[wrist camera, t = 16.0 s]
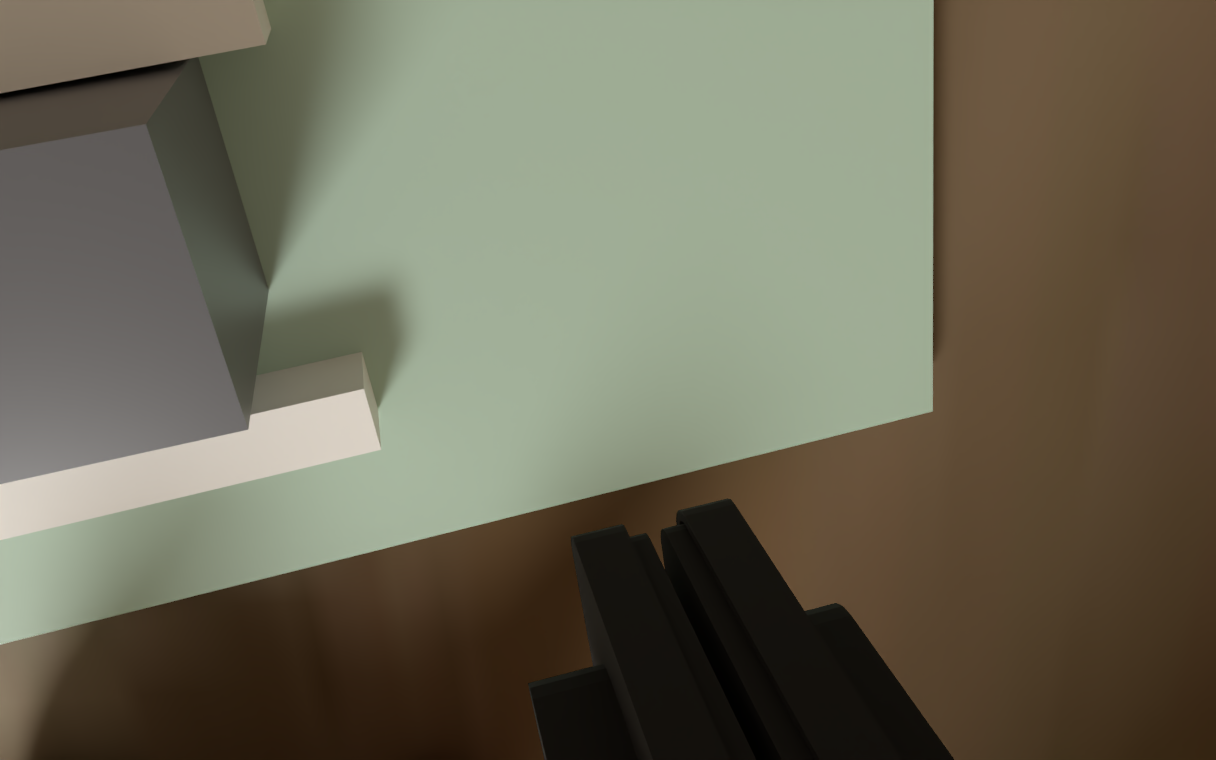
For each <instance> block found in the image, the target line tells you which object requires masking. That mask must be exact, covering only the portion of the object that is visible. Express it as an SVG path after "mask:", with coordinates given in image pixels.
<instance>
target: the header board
mask: <svg viewBox="0 0 1216 760" xmlns="http://www.w3.org/2000/svg"><path fill="white" fill-rule="evenodd" d="M933 12H934V0H0V93H5V92H10V91H16V90H21V89H27V88H32V87H38V86H43V85H48V84H54V83H59V82H65V81H70V80H76V79H81V78H86V77H92V76H97V75H103V74H108V73H114V72H119V71H125V70H130V69H135V68H141V67H146V66H152V65H157V64H163V63H168V62H173V61H179V60H184V59H190V58H195V57H198V58H199V61H200V64H201V68H202V71H203V74H204V78H205V81H206V84H207V88H208V91H209V94H210V97H211V101H212V104H213V107H214V111H215V114H216V117H217V121H218V124H219V127H220V130H221V134H222V137H223V140H224V144H225V147H226V150H227V154H228V157H229V160H230V163H231V167H232V170H233V173H234V177H235V180H236V183H237V187H238V190H239V193H240V196H241V200H242V203H243V206H244V210H245V213H246V216H247V220H248V223H249V226H250V229H251V233H252V236H253V239H254V243H255V246H256V249H257V253H258V256H259V259H260V262H261V266H262V269H263V272H264V276H265V279H266V282H267V286H268V289H269V293H268V300H267V306H266V313H265V320H264V327H263V333H262V340H261V347H260V354H259V360H258V367H257V374H256V381H255V387H254V394H253V401H252V408H251V414H250V421H249V428H248V430H244V431H240V432H235V433H231V434H226V435H222V436H217V437H213V438H208V439H203V440H199V441H194V442H190V443H185V444H181V445H176V446H172V447H167V448H163V449H158V450H154V451H149V452H144V453H140V454H135V455H131V456H126V457H122V458H117V459H113V460H108V461H104V462H99V463H95V464H90V465H86V466H81V467H76V468H72V469H67V470H63V471H58V472H54V473H49V474H45V475H40V476H36V477H31V478H27V479H22V480H17V481H13V482H8V483H4V484H0V644H4V643H8V642H12V641H16V640H20V639H24V638H28V637H32V636H36V635H40V634H44V633H48V632H52V631H56V630H60V629H64V628H68V627H72V626H76V625H80V624H84V623H88V622H92V621H96V620H100V619H104V618H108V617H112V616H116V615H120V614H124V613H128V612H132V611H136V610H140V609H144V608H148V607H152V606H156V605H160V604H164V603H168V602H172V601H176V600H180V599H184V598H188V597H192V596H196V595H200V594H204V593H208V592H212V591H216V590H220V589H224V588H228V587H232V586H236V585H240V584H244V583H248V582H252V581H256V580H260V579H264V578H268V577H272V576H276V575H280V574H284V573H288V572H292V571H296V570H300V569H304V568H308V567H312V566H316V565H320V564H324V563H328V562H332V561H336V560H340V559H344V558H348V557H352V556H356V555H360V554H364V553H368V552H372V551H376V550H380V549H384V548H388V547H392V546H396V545H400V544H404V543H408V542H412V541H416V540H420V539H424V538H428V537H432V536H436V535H440V534H444V533H448V532H452V531H456V530H460V529H464V528H468V527H472V526H476V525H480V524H484V523H488V522H492V521H496V520H500V519H504V518H508V517H512V516H516V515H520V514H524V513H528V512H532V511H536V510H540V509H544V508H548V507H552V506H556V505H560V504H564V503H568V502H572V501H576V500H580V499H584V498H588V497H592V496H596V495H600V494H604V493H608V492H612V491H616V490H620V489H624V488H628V487H632V486H636V485H640V484H644V483H648V482H652V481H656V480H660V479H664V478H668V477H672V476H676V475H680V474H684V473H688V472H692V471H696V470H700V469H704V468H708V467H712V466H716V465H720V464H724V463H728V462H732V461H736V460H740V459H744V458H748V457H752V456H756V455H760V454H764V453H768V452H772V451H776V450H780V449H784V448H788V447H792V446H796V445H800V444H804V443H808V442H812V441H816V440H820V439H824V438H828V437H832V436H836V435H840V434H844V433H848V432H852V431H856V430H860V429H864V428H868V427H872V426H876V425H880V424H884V423H888V422H892V421H896V420H900V419H904V418H908V417H912V416H916V415H920V414H924V413H928V412H932V411H933Z"/></svg>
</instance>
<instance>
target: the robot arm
mask: <svg viewBox="0 0 1216 760" xmlns="http://www.w3.org/2000/svg"><path fill="white" fill-rule="evenodd" d="M676 522H677V526H673V527H669V528H665V529H662V530H661V544H662V551H663V558H664V565H665V569H664V567H663V565H662V563H661V561H660V559H659V557H658V555H657V553H656V550H655V548H654V546H653V544H652V542H651V540H650V538H649V536H648V535H647V534H646V533H644V534H640V535H636V536H632V537H629V535H628V532H627V530H626V528H625V527H624V525H622V524H621V525H617V526H613V527H609V528H605V529H601V530H596V531H592V532H588V533H584V534H580V535H576V536H572V537H571V546H572V552H573V558H574V563H575V569H576V574H577V580H578V585H579V591H580V596H581V602H582V607H583V613H584V618H585V624H586V629H587V635H588V640H589V646H590V651H591V657H592V662H593V667H589V668H585V669H581V670H578V671H574V672H570V673H566V674H562V675H558V676H555V677H551V678H547V679H543V680H539V681H535V682H532V683H528V685H529V690H530V695H531V699H532V704H533V709H534V713H535V718H536V723H537V727H538V732H539V736H540V741H541V745H542V750H543V755H544V759H545V760H954V759H953V757H952V756H951V754H950V753H949V752H948V750H947V749H946V747H945V746H944V745H943V743H942V742H941V741H940V739H939V738H938V736H937V735H936V734H935V732H934V731H933V729H932V728H931V727H930V725H929V724H928V722H927V721H926V720H925V718H924V717H923V715H922V714H921V713H920V711H919V710H918V708H917V707H916V706H915V704H914V703H913V701H912V700H911V699H910V697H909V696H908V694H907V693H906V692H905V690H904V689H903V687H902V686H901V685H900V683H899V682H898V680H897V679H896V678H895V676H894V675H893V673H892V672H891V671H890V669H889V668H888V666H887V665H886V664H885V662H884V661H883V659H882V658H881V657H880V655H879V654H878V652H877V651H876V650H875V648H874V647H873V645H872V644H871V643H870V641H869V640H868V638H867V637H866V636H865V634H864V633H863V631H862V630H861V629H860V627H859V626H858V624H857V623H856V622H855V620H854V619H853V617H852V616H851V615H850V614H849V613H848V611H847V610H846V609H845V608H844V607H843V606H841V605H839V604H837V603H834V604H830V605H826V606H823V607H819V608H815V609H811V610H807V611H804V610H803V608H802V607H801V605H800V604H799V602H798V600H797V599H796V597H795V596H794V594H793V593H792V591H791V590H790V588H789V587H788V585H787V584H786V582H785V581H784V579H783V577H782V576H781V574H780V573H779V571H778V570H777V568H776V567H775V565H774V564H773V562H772V561H771V559H770V558H769V556H768V555H767V553H766V551H765V550H764V548H763V547H762V545H761V544H760V542H759V541H758V539H757V538H756V536H755V535H754V533H753V532H752V530H751V528H750V527H749V525H748V524H747V522H746V521H745V519H744V518H743V516H742V515H741V513H740V512H739V510H738V509H737V507H736V505H735V504H734V503H733V502H732V500H731V499H724V500H720V501H716V502H712V503H708V504H704V505H699V506H695V507H691V508H687V509H683V510H679V511H678V512H677V517H676Z"/></svg>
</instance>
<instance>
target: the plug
mask: <svg viewBox="0 0 1216 760" xmlns="http://www.w3.org/2000/svg"><path fill="white" fill-rule="evenodd" d="M268 293H269V289H268V286H267V282H266V279H265V276H264V272H263V269H262V266H261V262H260V259H259V256H258V253H257V249H256V246H255V243H254V239H253V236H252V233H251V229H250V226H249V223H248V220H247V216H246V213H245V210H244V206H243V203H242V200H241V196H240V193H239V190H238V187H237V183H236V180H235V177H234V173H233V170H232V167H231V163H230V160H229V157H228V154H227V150H226V147H225V144H224V140H223V137H222V134H221V130H220V127H219V124H218V121H217V117H216V114H215V111H214V107H213V104H212V101H211V97H210V94H209V91H208V88H207V84H206V81H205V78H204V74H203V71H202V68H201V64H200V61H199V58H198V57H195V58H190V59H184V60H179V61H173V62H168V63H163V64H157V65H152V66H146V67H141V68H135V69H130V70H125V71H119V72H114V73H108V74H103V75H97V76H92V77H86V78H81V79H76V80H70V81H65V82H59V83H54V84H48V85H43V86H38V87H32V88H27V89H21V90H16V91H10V92H5V93H0V484H4V483H8V482H13V481H17V480H22V479H27V478H31V477H36V476H40V475H45V474H49V473H54V472H58V471H63V470H67V469H72V468H76V467H81V466H86V465H90V464H95V463H99V462H104V461H108V460H113V459H117V458H122V457H126V456H131V455H135V454H140V453H144V452H149V451H154V450H158V449H163V448H167V447H172V446H176V445H181V444H185V443H190V442H194V441H199V440H203V439H208V438H213V437H217V436H222V435H226V434H231V433H235V432H240V431H244V430H248V428H249V421H250V414H251V408H252V401H253V394H254V387H255V381H256V374H257V367H258V360H259V354H260V347H261V340H262V333H263V327H264V320H265V313H266V306H267V300H268Z"/></svg>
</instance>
